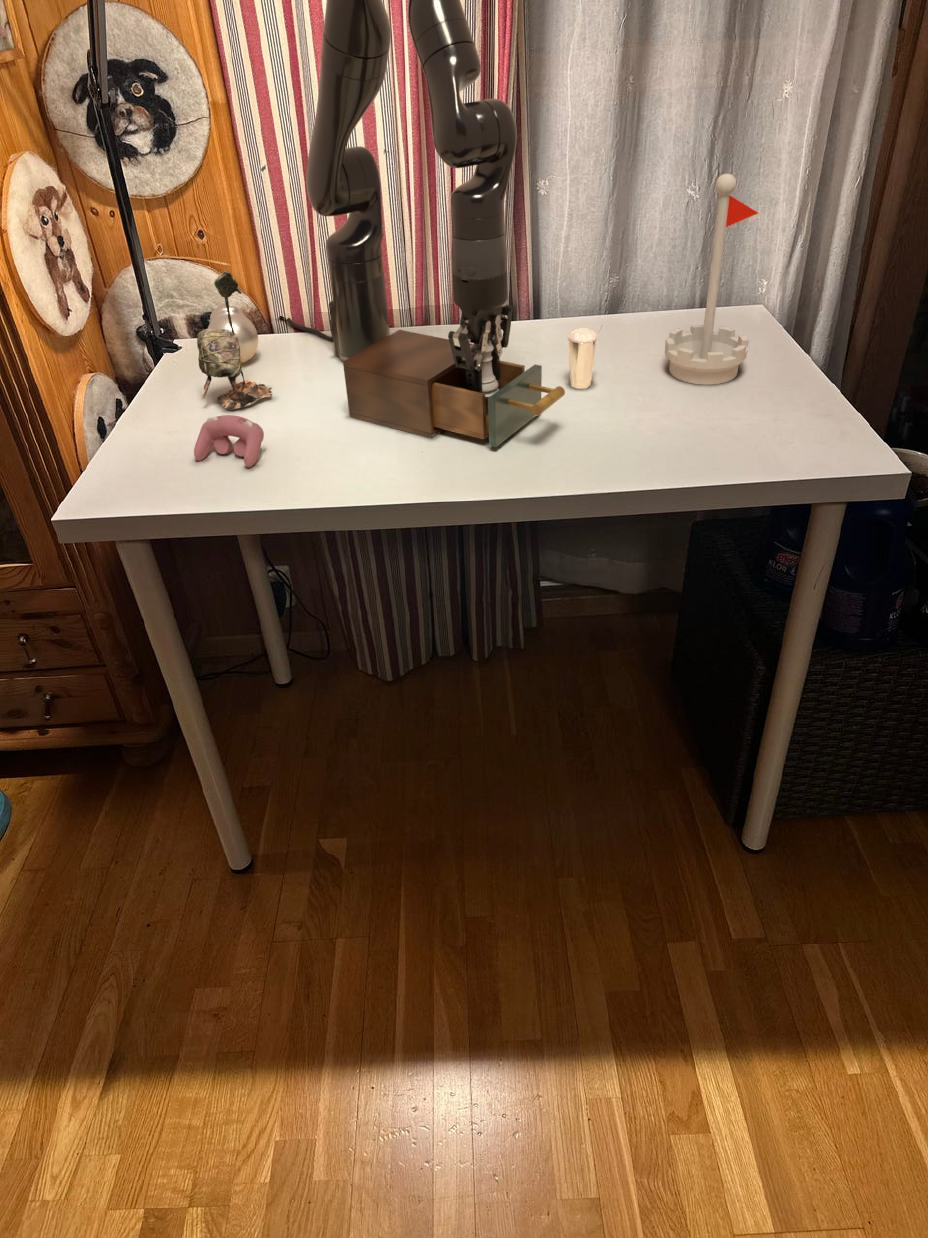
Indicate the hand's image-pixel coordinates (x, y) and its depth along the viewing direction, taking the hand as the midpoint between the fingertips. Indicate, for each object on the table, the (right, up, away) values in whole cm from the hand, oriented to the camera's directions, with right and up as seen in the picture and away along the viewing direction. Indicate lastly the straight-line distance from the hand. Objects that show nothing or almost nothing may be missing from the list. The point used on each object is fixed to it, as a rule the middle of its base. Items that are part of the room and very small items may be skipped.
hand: (483, 385), depth 136 cm
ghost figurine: (-43, +11, +28) cm, 53 cm away
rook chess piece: (0, -1, +1) cm, 1 cm away
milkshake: (+16, +4, +14) cm, 22 cm away
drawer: (+2, -5, +3) cm, 6 cm away
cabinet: (-10, -1, +10) cm, 14 cm away
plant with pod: (-40, +1, +15) cm, 43 cm away
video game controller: (-37, -11, 0) cm, 38 cm away
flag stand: (+37, +6, +16) cm, 41 cm away
